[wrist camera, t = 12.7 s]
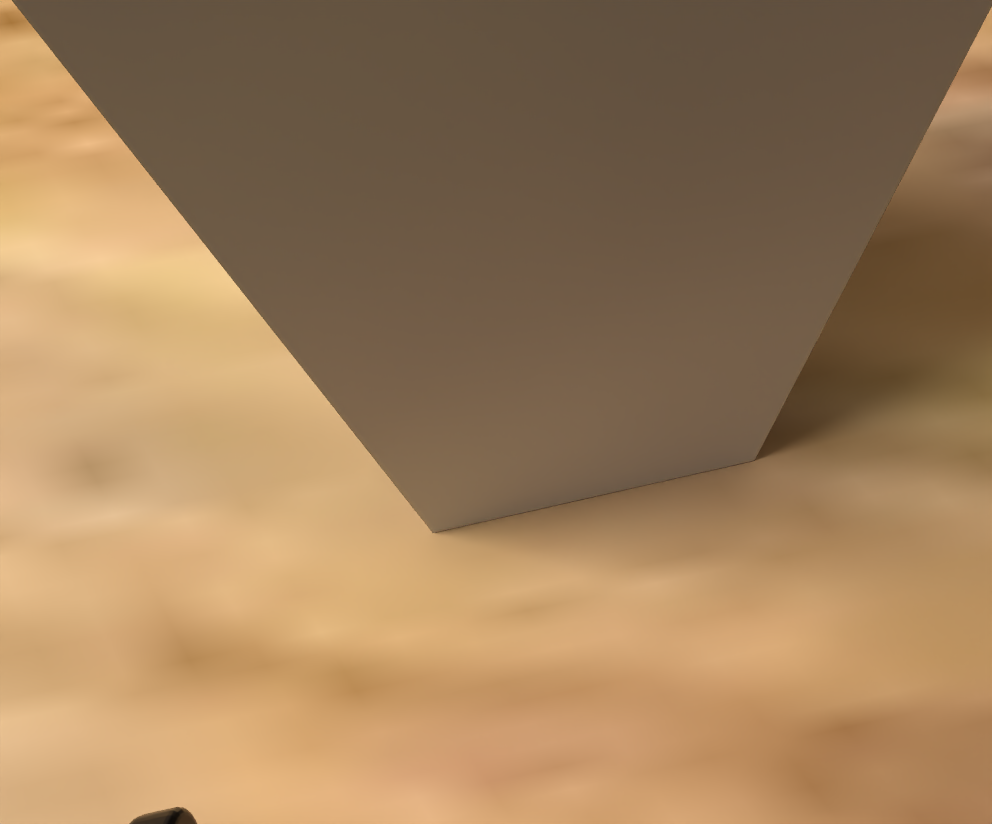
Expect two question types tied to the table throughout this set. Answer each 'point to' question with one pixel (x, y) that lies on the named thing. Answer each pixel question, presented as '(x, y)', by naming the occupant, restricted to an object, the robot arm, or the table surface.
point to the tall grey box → (529, 208)
